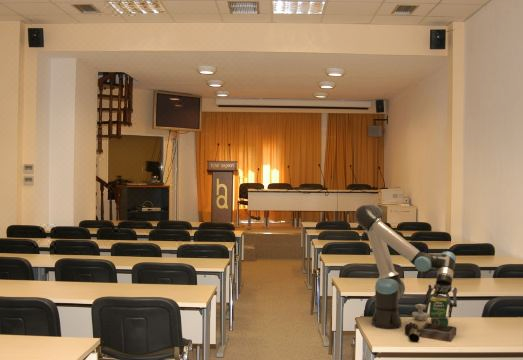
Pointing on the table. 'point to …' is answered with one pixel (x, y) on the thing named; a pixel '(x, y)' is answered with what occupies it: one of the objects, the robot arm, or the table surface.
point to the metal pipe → (412, 332)
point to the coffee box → (439, 311)
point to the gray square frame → (437, 332)
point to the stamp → (420, 312)
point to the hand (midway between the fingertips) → (437, 316)
